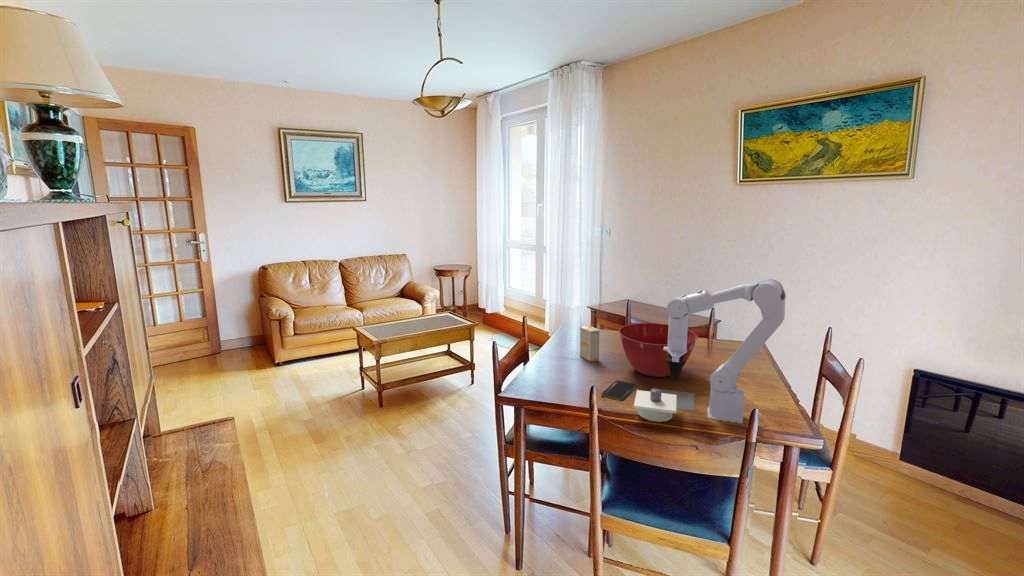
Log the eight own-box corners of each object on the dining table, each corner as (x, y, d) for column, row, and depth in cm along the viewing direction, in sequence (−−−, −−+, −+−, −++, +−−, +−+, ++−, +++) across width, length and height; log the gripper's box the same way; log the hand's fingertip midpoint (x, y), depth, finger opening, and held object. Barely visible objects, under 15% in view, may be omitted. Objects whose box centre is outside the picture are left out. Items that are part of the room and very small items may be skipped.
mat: (694, 394, 158) (694, 393, 158) (693, 411, 145) (693, 410, 145) (651, 388, 163) (651, 387, 163) (647, 405, 150) (647, 404, 150)
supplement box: (599, 360, 192) (600, 329, 190) (589, 362, 190) (590, 331, 188) (589, 354, 200) (589, 324, 197) (579, 356, 198) (579, 326, 195)
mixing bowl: (702, 366, 184) (704, 328, 181) (684, 391, 160) (686, 348, 157) (632, 354, 199) (633, 319, 196) (606, 375, 176) (607, 336, 173)
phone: (600, 394, 157) (616, 380, 169) (600, 397, 157) (616, 383, 170) (622, 399, 153) (637, 384, 165) (622, 403, 153) (637, 387, 165)
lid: (676, 397, 147) (677, 385, 146) (676, 413, 136) (676, 401, 135) (636, 392, 151) (637, 381, 150) (633, 408, 140) (634, 396, 139)
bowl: (673, 410, 147) (673, 398, 146) (671, 424, 137) (672, 411, 137) (640, 405, 150) (640, 393, 149) (636, 419, 141) (636, 406, 140)
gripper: (665, 328, 155) (663, 367, 157) (662, 340, 142) (660, 382, 144) (688, 330, 152) (686, 369, 155) (687, 343, 139) (684, 385, 142)
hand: (675, 376), depth 149 cm, fingers open, 7 cm apart
